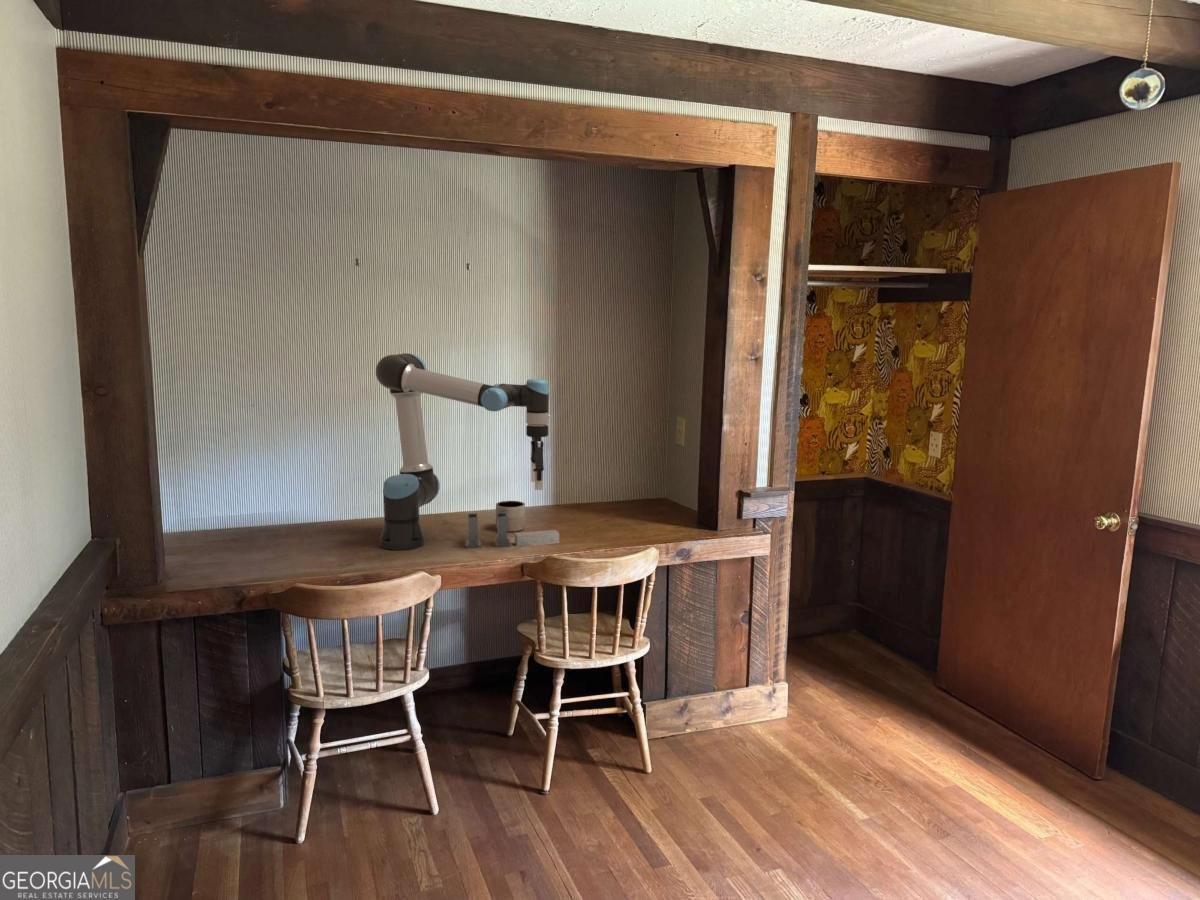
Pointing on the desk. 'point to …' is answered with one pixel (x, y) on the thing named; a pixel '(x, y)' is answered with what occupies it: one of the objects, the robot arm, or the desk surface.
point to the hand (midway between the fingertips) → (536, 485)
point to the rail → (536, 538)
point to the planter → (512, 514)
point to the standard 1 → (473, 531)
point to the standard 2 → (502, 531)
